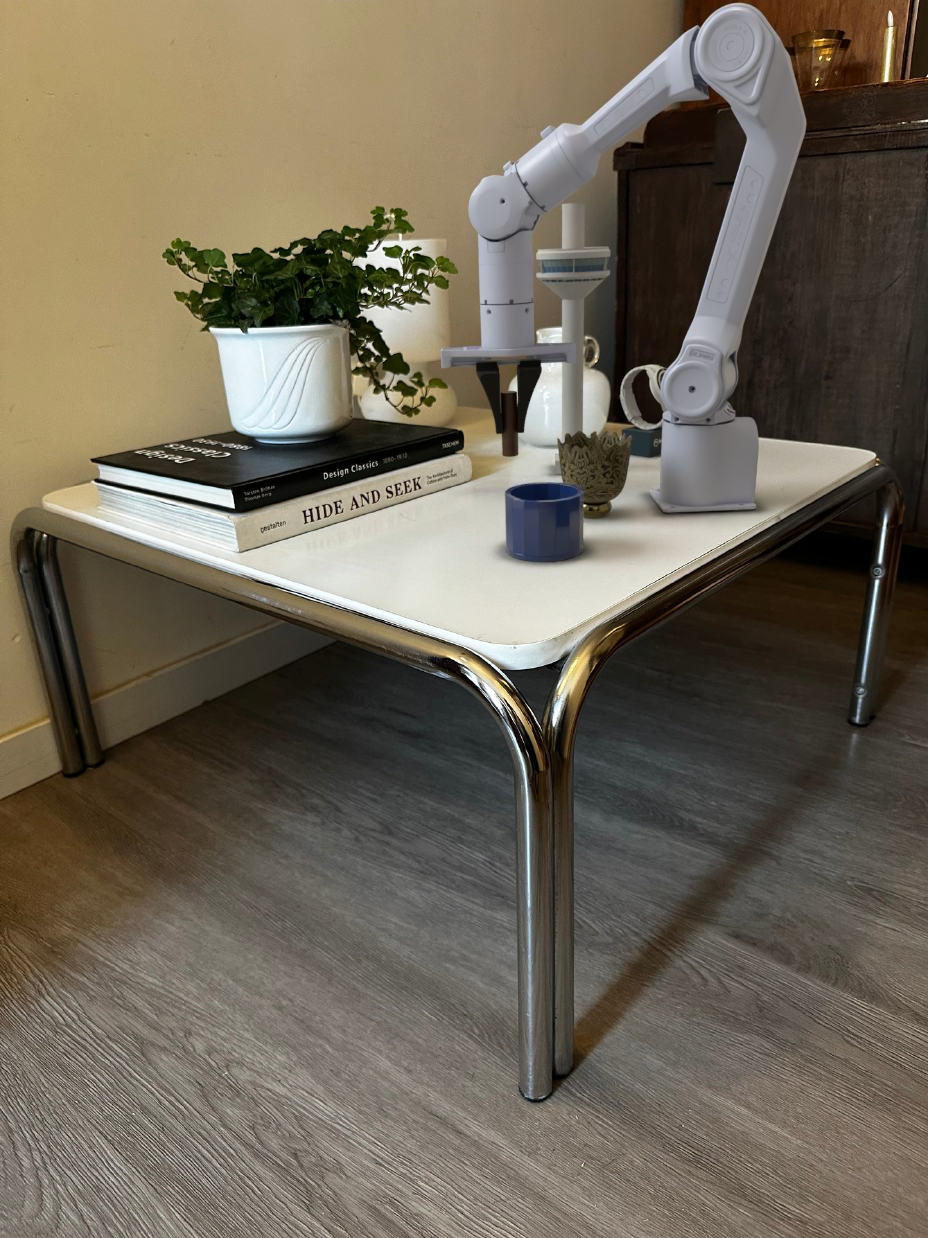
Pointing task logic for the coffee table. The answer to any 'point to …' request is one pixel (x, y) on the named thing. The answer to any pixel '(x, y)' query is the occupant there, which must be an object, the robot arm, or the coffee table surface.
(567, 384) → the model tower
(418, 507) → the coffee table surface
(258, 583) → the coffee table surface
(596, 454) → the cup
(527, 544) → the cup
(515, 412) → the brown cylinder
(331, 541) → the coffee table surface
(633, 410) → the watch
